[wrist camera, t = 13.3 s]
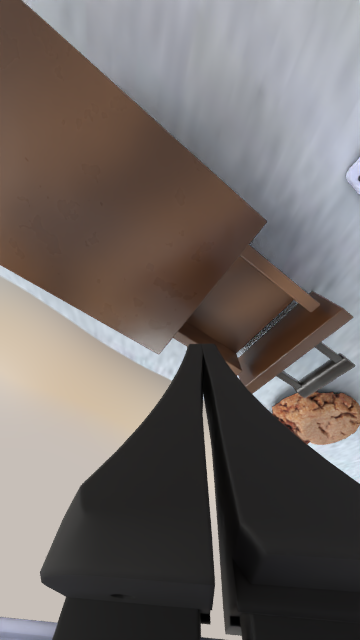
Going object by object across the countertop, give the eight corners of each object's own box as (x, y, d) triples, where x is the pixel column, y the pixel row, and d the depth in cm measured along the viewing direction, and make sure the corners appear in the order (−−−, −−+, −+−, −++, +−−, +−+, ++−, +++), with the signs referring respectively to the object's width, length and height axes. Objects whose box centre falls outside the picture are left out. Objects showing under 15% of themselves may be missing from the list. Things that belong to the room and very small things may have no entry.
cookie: (354, 422, 25) (374, 445, 23) (276, 440, 28) (286, 463, 25) (350, 371, 21) (373, 392, 19) (259, 397, 24) (268, 418, 21)
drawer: (353, 325, 17) (391, 349, 14) (271, 385, 22) (286, 415, 18) (200, 195, 13) (203, 186, 10) (135, 300, 17) (122, 318, 14)
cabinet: (242, 221, 15) (268, 221, 10) (167, 321, 19) (158, 355, 14) (66, 70, 11) (-28, -45, 6) (26, 234, 16) (-47, 239, 11)
